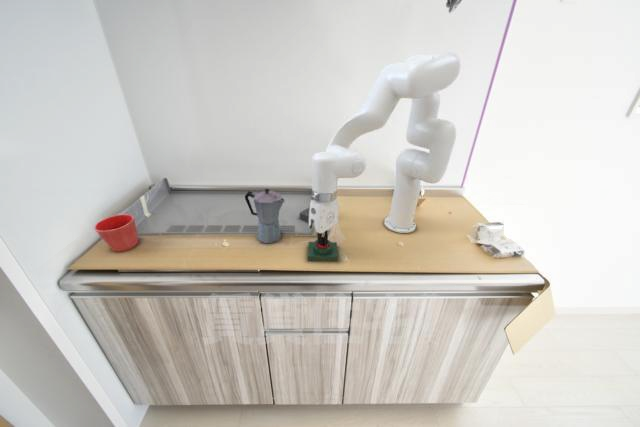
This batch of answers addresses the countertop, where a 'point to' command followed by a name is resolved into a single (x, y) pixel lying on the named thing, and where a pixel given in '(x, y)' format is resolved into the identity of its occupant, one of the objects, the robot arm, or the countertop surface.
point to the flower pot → (118, 232)
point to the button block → (323, 252)
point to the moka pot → (267, 214)
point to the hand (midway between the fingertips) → (322, 243)
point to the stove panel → (305, 215)
